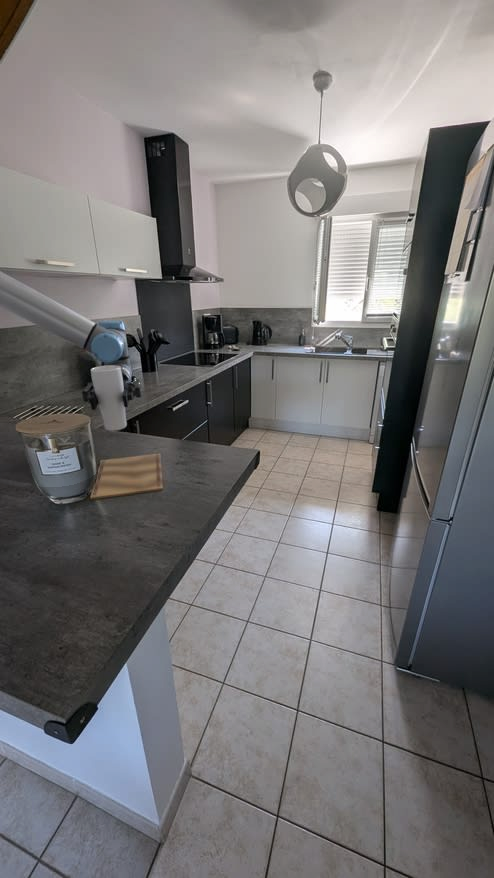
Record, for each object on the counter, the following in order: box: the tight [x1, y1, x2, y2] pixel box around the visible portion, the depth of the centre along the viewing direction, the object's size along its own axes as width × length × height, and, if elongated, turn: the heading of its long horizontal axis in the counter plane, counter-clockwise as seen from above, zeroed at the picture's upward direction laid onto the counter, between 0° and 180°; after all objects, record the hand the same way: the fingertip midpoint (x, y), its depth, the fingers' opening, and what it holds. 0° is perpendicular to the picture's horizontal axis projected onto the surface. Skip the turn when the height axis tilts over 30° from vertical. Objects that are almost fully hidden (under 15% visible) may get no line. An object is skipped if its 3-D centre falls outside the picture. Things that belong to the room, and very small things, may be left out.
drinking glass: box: [90, 365, 128, 432], centre depth 86 cm, size 7×7×15 cm
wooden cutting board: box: [89, 453, 164, 501], centre depth 91 cm, size 20×16×1 cm
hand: (109, 402), depth 81 cm, fingers closed on drinking glass, 6 cm apart
